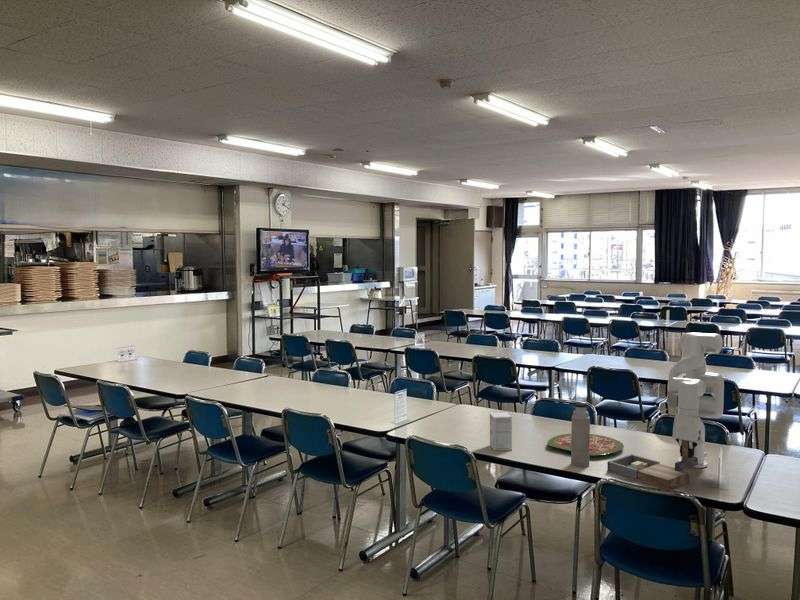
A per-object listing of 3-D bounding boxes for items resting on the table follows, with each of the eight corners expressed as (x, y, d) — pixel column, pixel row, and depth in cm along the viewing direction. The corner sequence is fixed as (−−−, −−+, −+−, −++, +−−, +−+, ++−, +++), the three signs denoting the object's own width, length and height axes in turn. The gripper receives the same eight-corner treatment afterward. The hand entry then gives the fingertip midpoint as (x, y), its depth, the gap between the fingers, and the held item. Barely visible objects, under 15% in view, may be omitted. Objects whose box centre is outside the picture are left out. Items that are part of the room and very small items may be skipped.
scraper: (692, 463, 260) (693, 430, 260) (698, 465, 258) (699, 431, 258) (674, 470, 252) (675, 435, 251) (680, 471, 250) (681, 437, 249)
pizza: (537, 447, 312) (537, 443, 311) (572, 433, 336) (572, 429, 336) (602, 463, 287) (602, 458, 287) (636, 447, 312) (636, 442, 312)
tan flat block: (658, 472, 274) (658, 463, 274) (689, 481, 263) (689, 472, 263) (637, 480, 265) (637, 470, 265) (668, 489, 254) (668, 480, 253)
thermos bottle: (589, 462, 287) (590, 402, 286) (589, 468, 280) (590, 406, 278) (571, 461, 290) (571, 401, 288) (570, 467, 282) (571, 405, 280)
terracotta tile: (647, 463, 276) (647, 469, 276) (637, 460, 280) (637, 466, 280) (641, 466, 273) (641, 471, 273) (631, 463, 277) (631, 468, 277)
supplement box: (507, 445, 316) (508, 412, 315) (512, 450, 306) (512, 416, 305) (489, 445, 315) (489, 412, 314) (493, 451, 306) (493, 417, 305)
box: (631, 463, 286) (631, 454, 286) (659, 471, 275) (659, 461, 275) (607, 471, 275) (607, 461, 275) (636, 480, 264) (636, 470, 264)
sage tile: (643, 473, 270) (637, 472, 272) (643, 462, 270) (638, 461, 272) (636, 476, 267) (631, 474, 269) (636, 464, 267) (631, 463, 269)
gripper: (664, 409, 258) (663, 453, 259) (702, 417, 245) (701, 463, 246) (674, 407, 263) (673, 450, 264) (712, 414, 250) (711, 459, 251)
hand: (686, 456), depth 255 cm, fingers closed on scraper, 2 cm apart
